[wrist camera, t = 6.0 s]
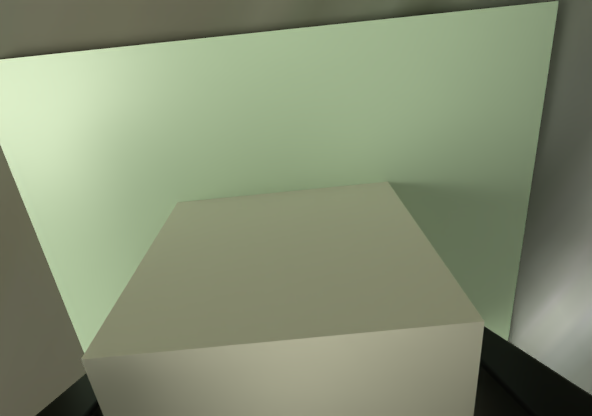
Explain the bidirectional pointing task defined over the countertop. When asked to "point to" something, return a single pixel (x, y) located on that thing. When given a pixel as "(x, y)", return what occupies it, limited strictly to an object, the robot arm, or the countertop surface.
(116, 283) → the plate
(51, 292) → the countertop surface
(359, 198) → the cream brick
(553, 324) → the countertop surface
